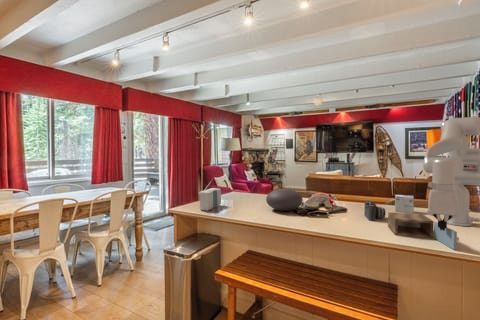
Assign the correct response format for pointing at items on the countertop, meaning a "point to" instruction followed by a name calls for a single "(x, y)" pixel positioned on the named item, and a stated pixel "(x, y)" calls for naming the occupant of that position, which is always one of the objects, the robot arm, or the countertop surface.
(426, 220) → the walnut case
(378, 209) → the camera
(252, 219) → the countertop surface
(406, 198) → the light bulb box
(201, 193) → the stereo radio cassette player
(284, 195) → the smooth stone
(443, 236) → the case door
